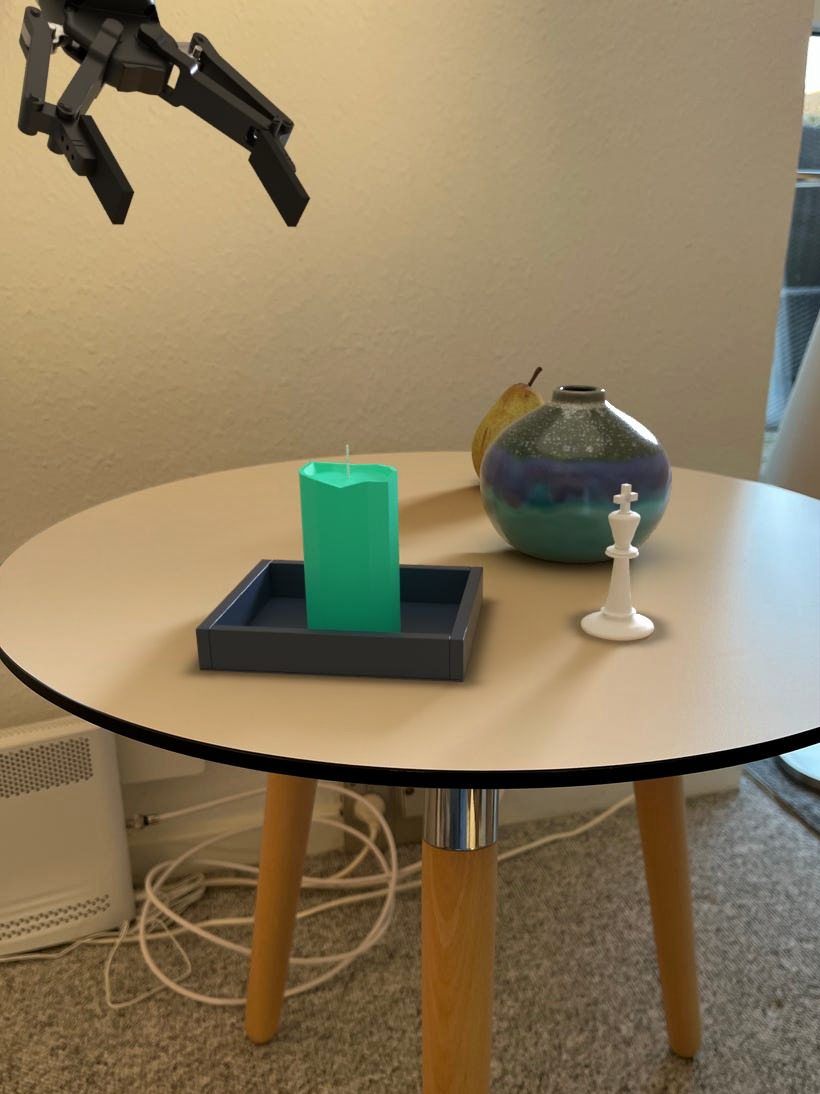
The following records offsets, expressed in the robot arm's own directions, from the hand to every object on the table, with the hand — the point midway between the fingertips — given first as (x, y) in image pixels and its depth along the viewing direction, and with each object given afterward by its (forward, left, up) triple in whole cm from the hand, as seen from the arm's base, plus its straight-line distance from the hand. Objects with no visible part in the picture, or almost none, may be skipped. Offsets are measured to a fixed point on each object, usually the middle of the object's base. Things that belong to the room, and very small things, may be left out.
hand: (217, 211), depth 69 cm
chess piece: (+28, -11, -26) cm, 40 cm away
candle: (+11, -14, -25) cm, 31 cm away
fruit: (+19, +30, -26) cm, 44 cm away
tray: (+11, -14, -26) cm, 31 cm away
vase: (+25, +7, -26) cm, 37 cm away
